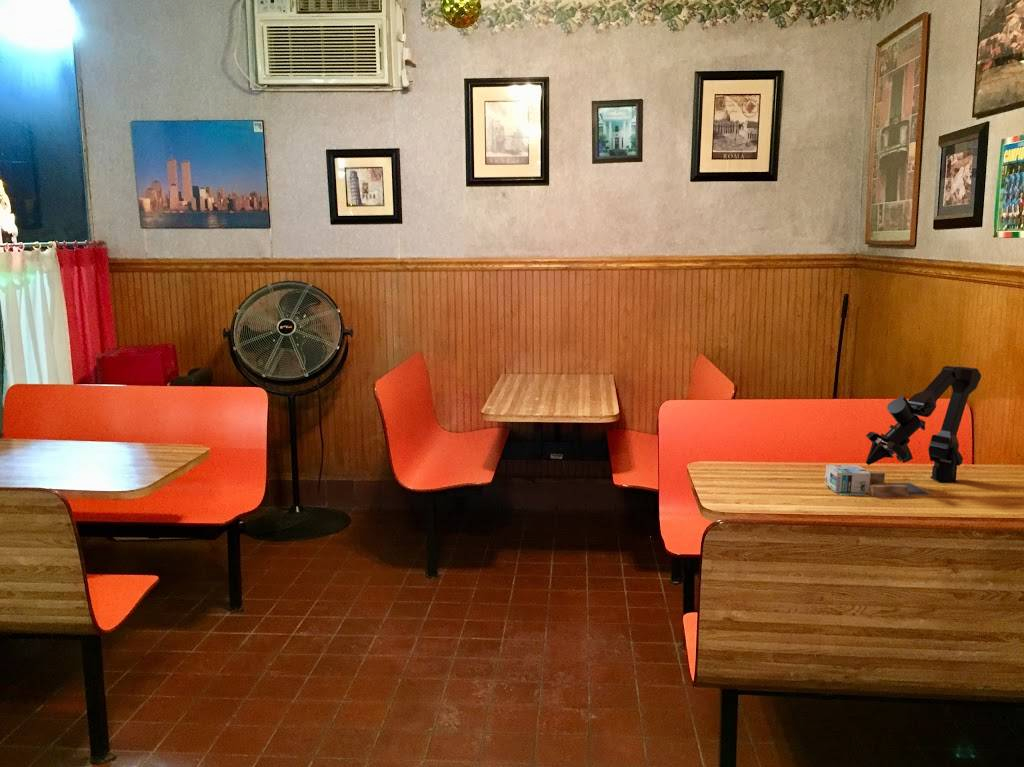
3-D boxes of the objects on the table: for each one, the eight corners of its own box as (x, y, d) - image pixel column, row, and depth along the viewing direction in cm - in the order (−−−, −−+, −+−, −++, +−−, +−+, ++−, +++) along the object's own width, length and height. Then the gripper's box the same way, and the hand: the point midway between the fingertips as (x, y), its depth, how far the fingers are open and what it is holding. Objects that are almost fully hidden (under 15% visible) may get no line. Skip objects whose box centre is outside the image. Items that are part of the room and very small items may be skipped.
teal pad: (849, 484, 281) (849, 483, 281) (866, 495, 268) (866, 494, 268) (825, 484, 281) (825, 483, 281) (841, 495, 268) (841, 494, 268)
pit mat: (910, 483, 282) (910, 482, 282) (932, 495, 268) (932, 494, 268) (886, 483, 282) (887, 482, 282) (907, 495, 268) (907, 494, 268)
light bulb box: (871, 473, 268) (837, 472, 269) (869, 493, 270) (835, 492, 270) (858, 464, 279) (825, 463, 279) (856, 484, 280) (824, 483, 280)
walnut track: (881, 481, 284) (882, 471, 283) (907, 497, 266) (908, 486, 266) (848, 482, 283) (849, 472, 283) (872, 497, 266) (873, 486, 265)
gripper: (934, 454, 264) (896, 488, 265) (905, 440, 282) (870, 473, 284) (911, 429, 262) (873, 464, 264) (883, 417, 281) (848, 450, 282)
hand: (867, 463), depth 273 cm, fingers closed
